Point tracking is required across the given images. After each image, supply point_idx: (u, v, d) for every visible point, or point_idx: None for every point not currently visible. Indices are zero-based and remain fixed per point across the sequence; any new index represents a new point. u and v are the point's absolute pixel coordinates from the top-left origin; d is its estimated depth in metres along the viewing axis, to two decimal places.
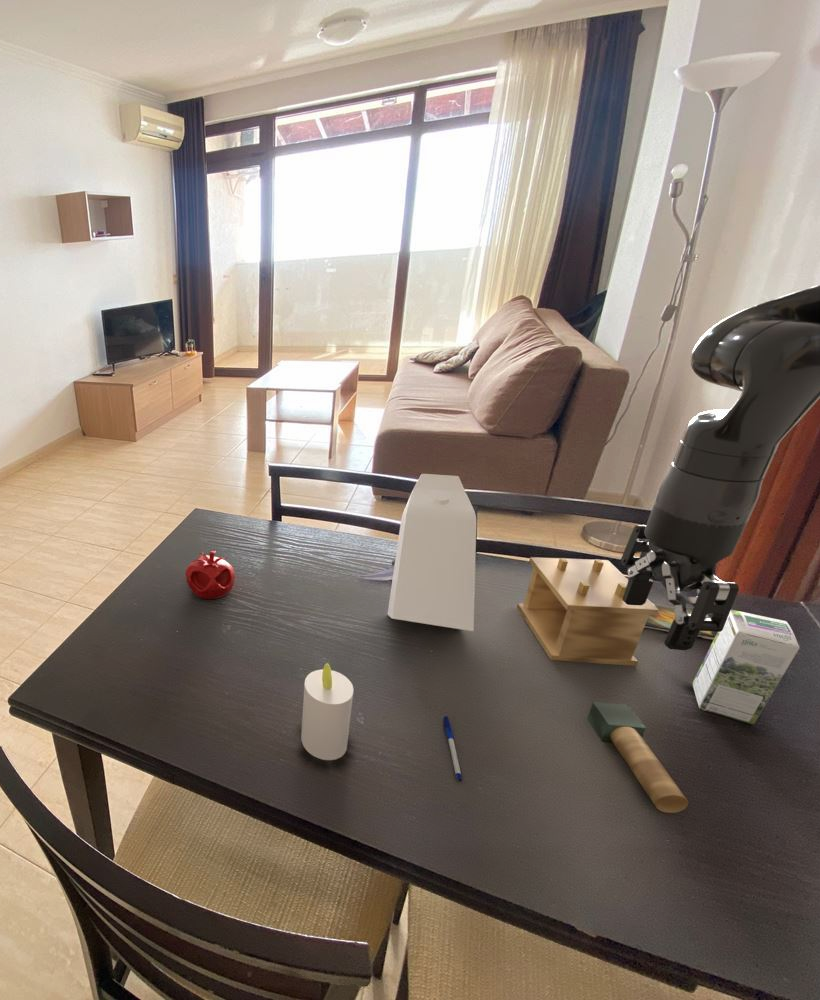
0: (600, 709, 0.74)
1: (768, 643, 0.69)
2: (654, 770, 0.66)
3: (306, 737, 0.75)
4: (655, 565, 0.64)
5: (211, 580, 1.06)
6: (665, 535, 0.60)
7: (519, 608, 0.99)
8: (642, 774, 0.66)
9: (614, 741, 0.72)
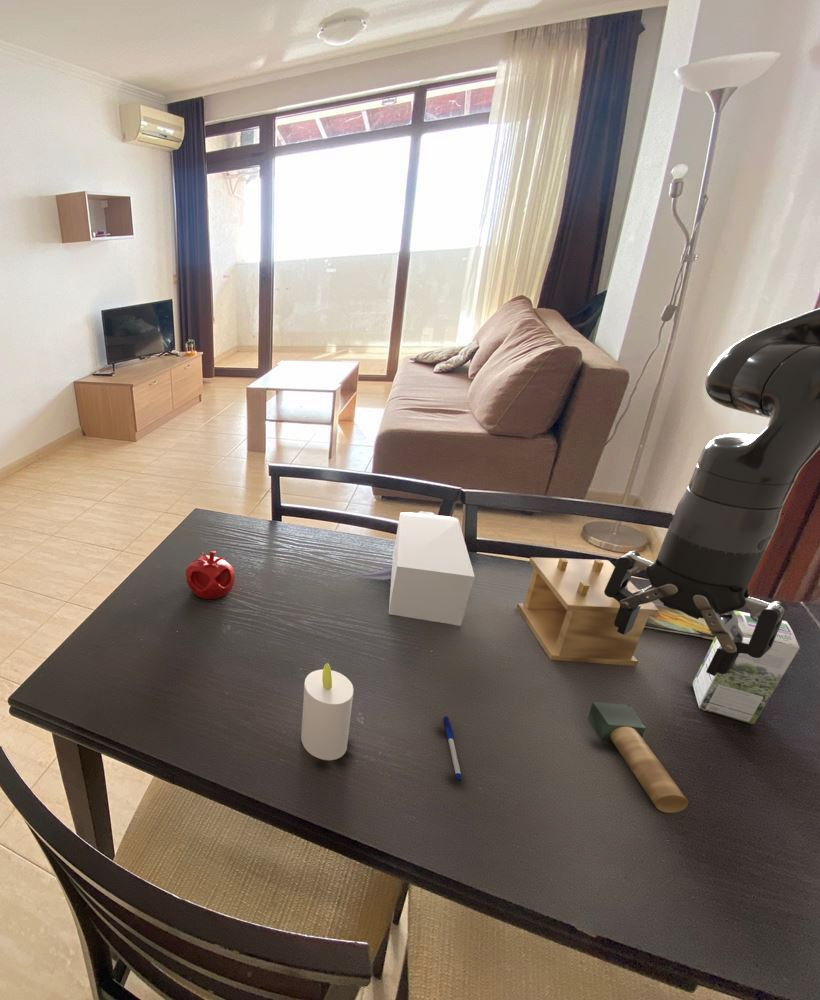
0: (600, 709, 0.74)
1: None
2: (654, 770, 0.66)
3: (306, 737, 0.75)
4: (667, 595, 0.62)
5: (211, 580, 1.06)
6: (713, 572, 0.56)
7: (519, 608, 0.99)
8: (642, 774, 0.66)
9: (614, 741, 0.72)
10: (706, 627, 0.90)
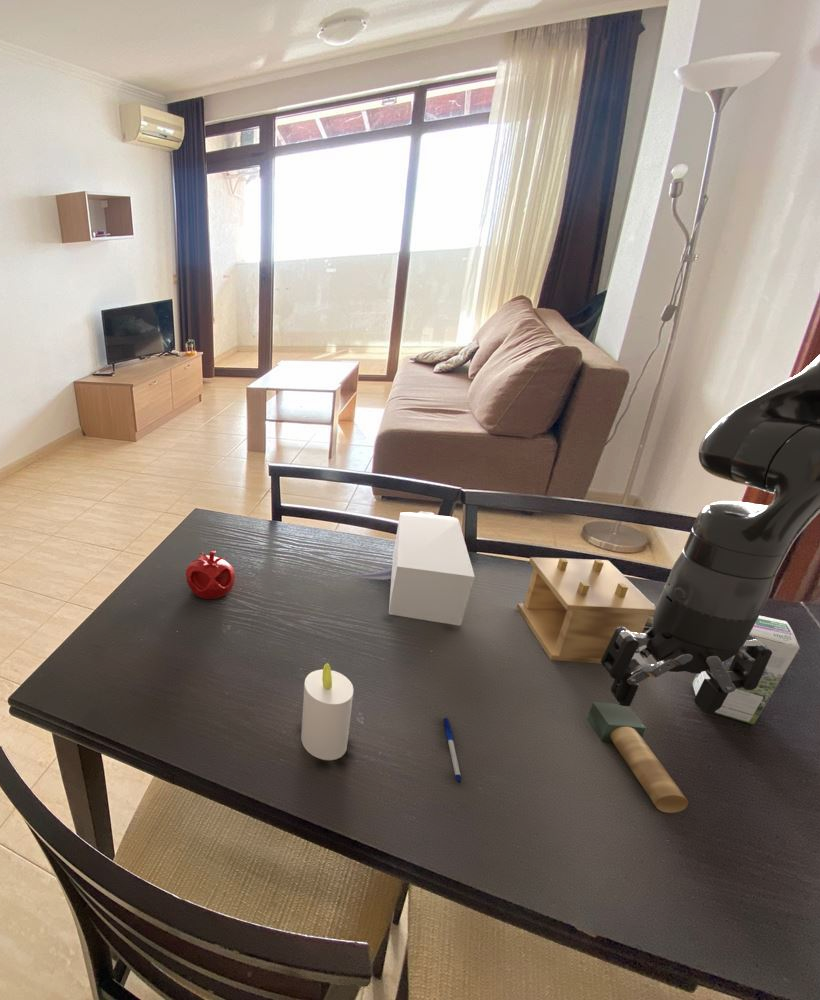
0: (600, 709, 0.74)
1: (768, 643, 0.69)
2: (654, 770, 0.66)
3: (306, 737, 0.75)
4: None
5: (211, 580, 1.06)
6: (742, 638, 0.56)
7: (519, 608, 0.99)
8: (642, 774, 0.66)
9: (614, 741, 0.72)
10: None
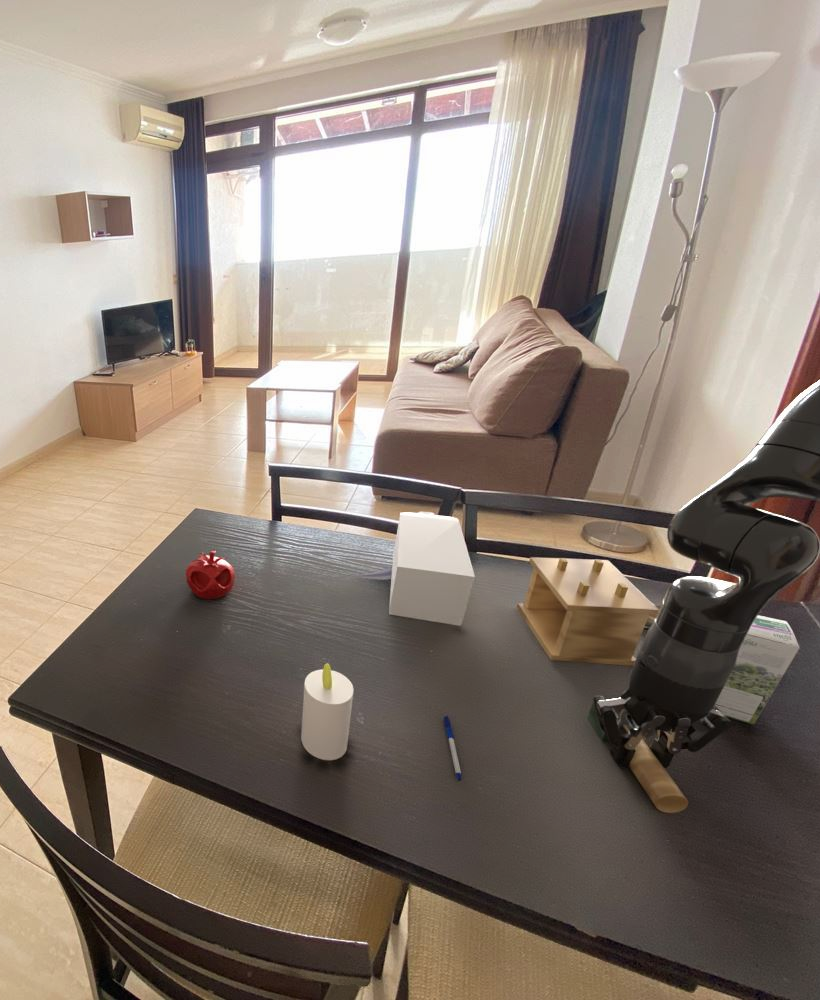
0: None
1: (768, 643, 0.69)
2: (654, 770, 0.66)
3: (307, 737, 0.75)
4: None
5: (211, 580, 1.06)
6: (710, 704, 0.60)
7: (519, 608, 0.99)
8: (642, 774, 0.66)
9: None
10: None
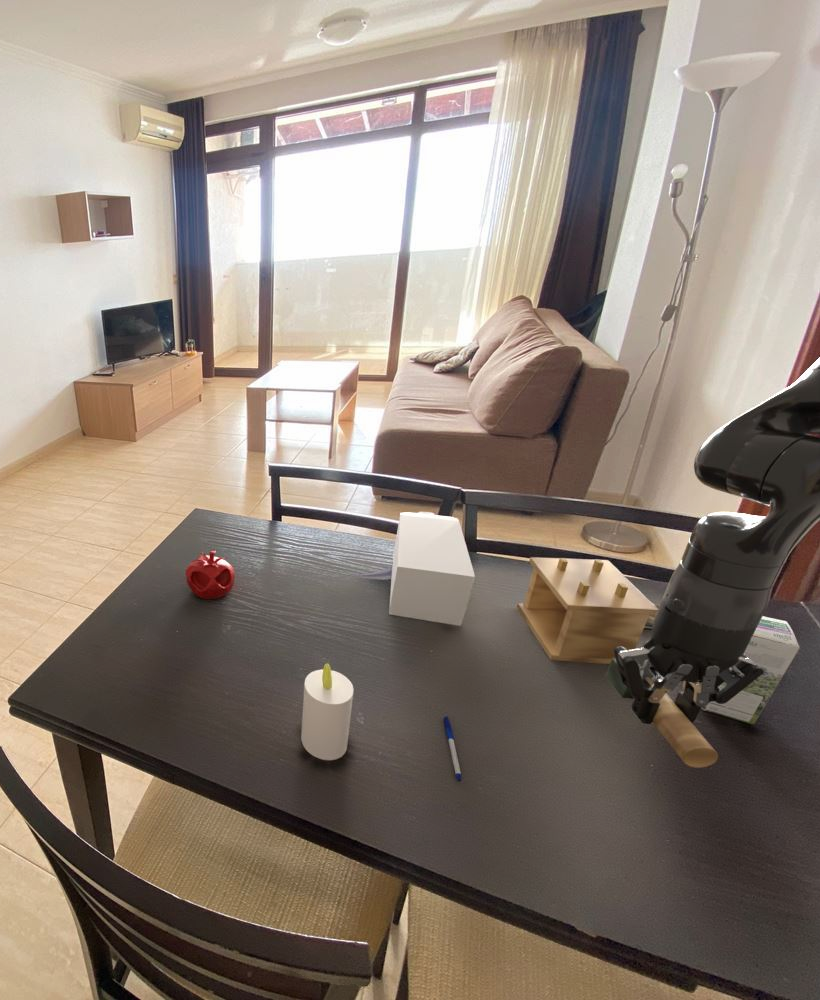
0: None
1: (768, 643, 0.69)
2: (680, 724, 0.62)
3: (307, 737, 0.75)
4: None
5: (211, 580, 1.06)
6: (741, 648, 0.57)
7: (519, 608, 0.99)
8: (668, 728, 0.63)
9: None
10: None
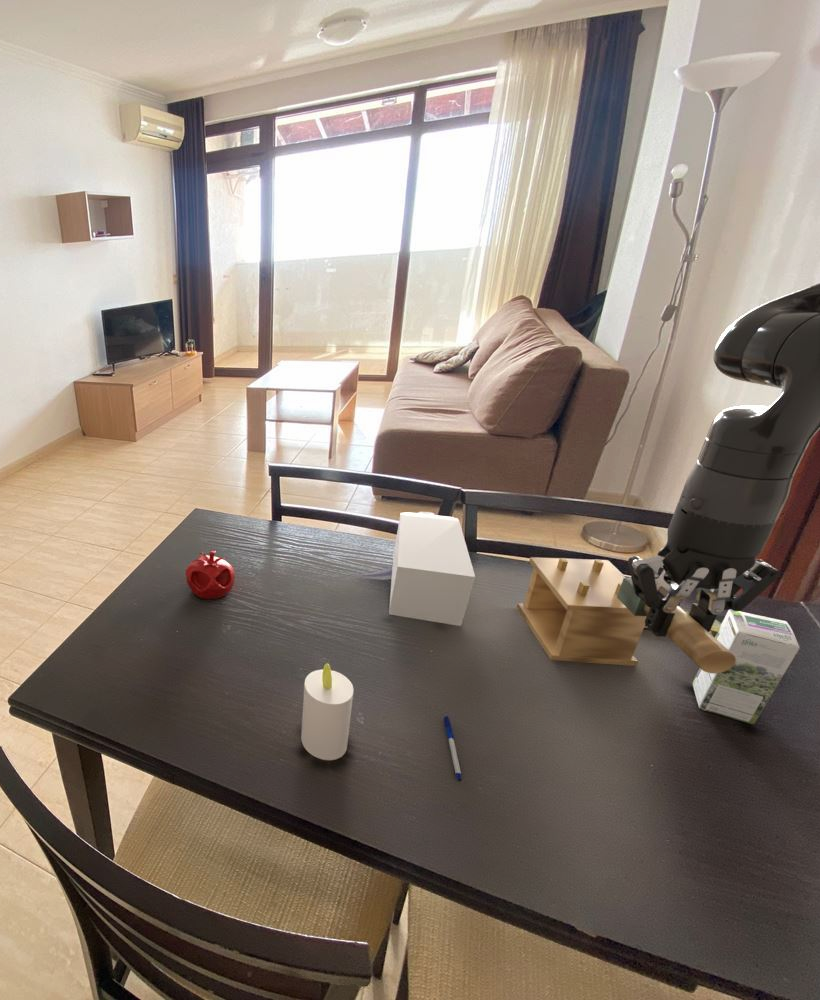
0: (632, 583, 0.69)
1: (768, 643, 0.69)
2: (696, 632, 0.61)
3: (307, 737, 0.75)
4: None
5: (211, 580, 1.06)
6: (760, 545, 0.55)
7: (519, 608, 0.99)
8: (683, 636, 0.62)
9: None
10: None
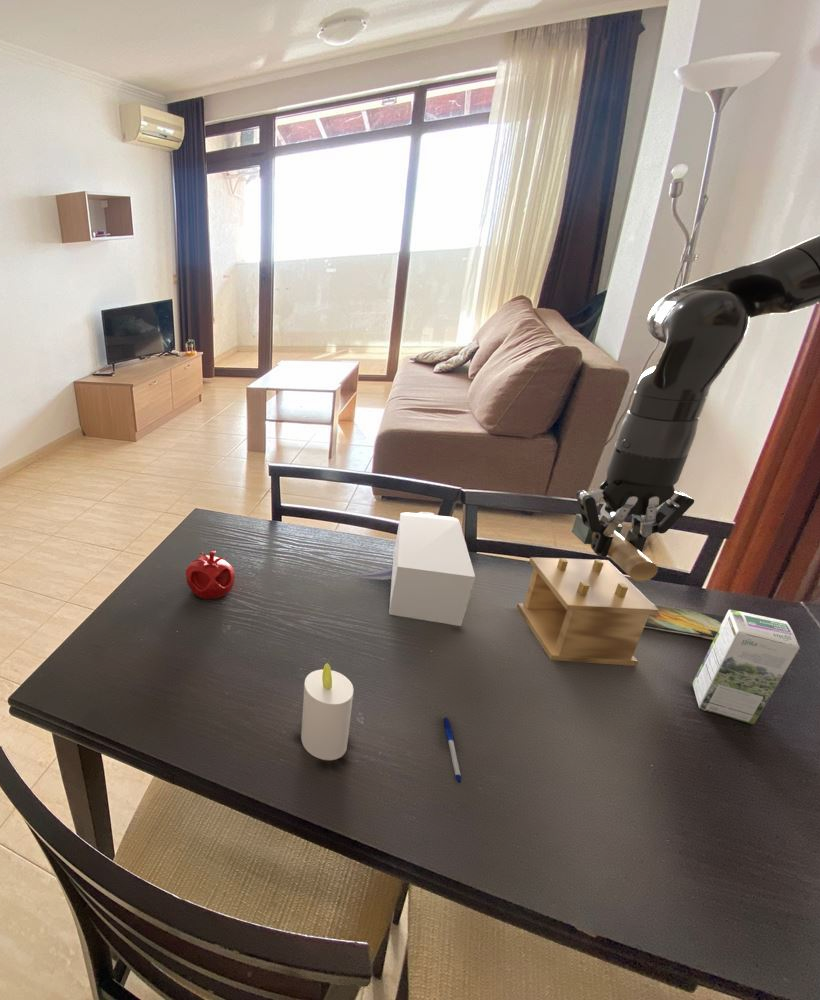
0: None
1: (768, 643, 0.69)
2: (629, 549, 0.76)
3: (307, 737, 0.75)
4: None
5: (211, 580, 1.06)
6: (675, 475, 0.70)
7: (519, 608, 0.99)
8: (619, 554, 0.76)
9: None
10: (706, 627, 0.90)
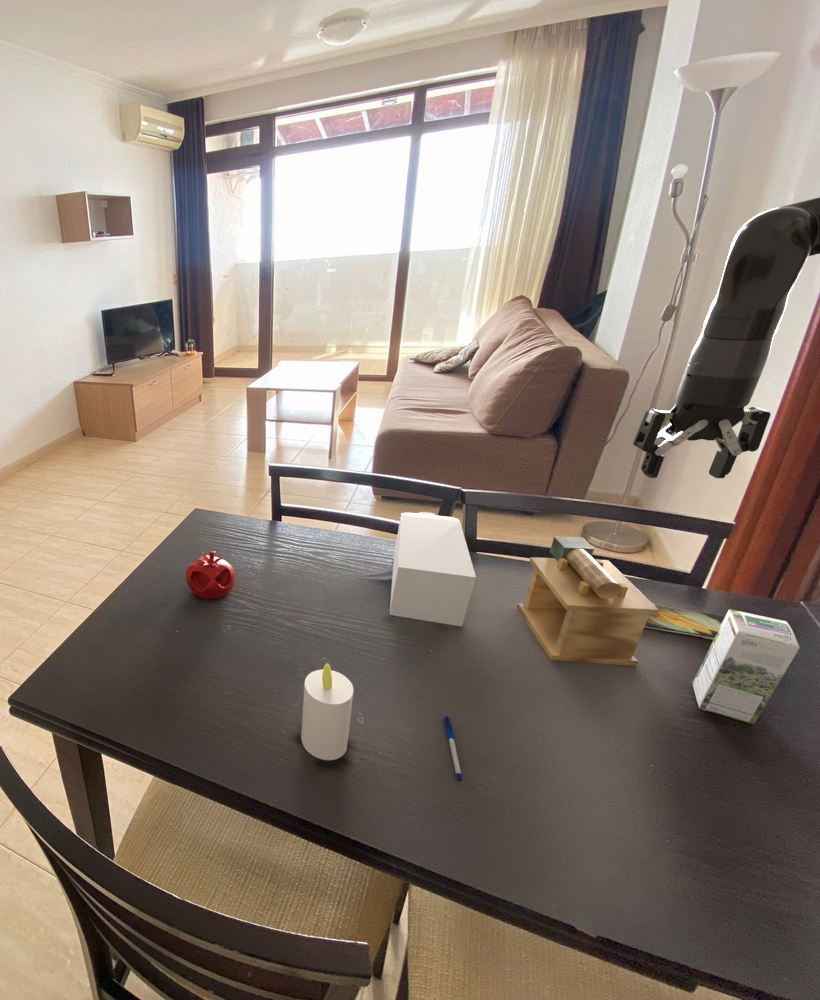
0: (559, 540, 0.93)
1: (768, 643, 0.69)
2: (596, 570, 0.85)
3: (306, 737, 0.75)
4: None
5: (211, 580, 1.06)
6: (747, 395, 0.73)
7: (519, 608, 0.99)
8: (588, 574, 0.85)
9: (569, 560, 0.91)
10: (706, 627, 0.90)
